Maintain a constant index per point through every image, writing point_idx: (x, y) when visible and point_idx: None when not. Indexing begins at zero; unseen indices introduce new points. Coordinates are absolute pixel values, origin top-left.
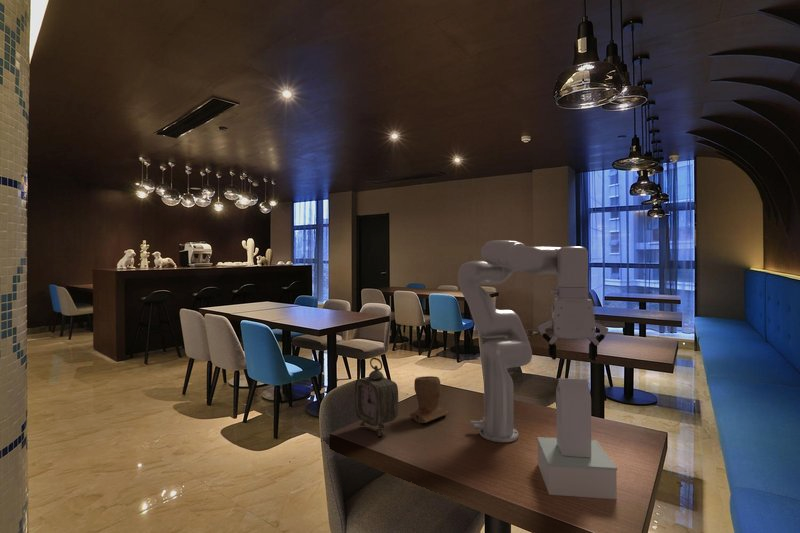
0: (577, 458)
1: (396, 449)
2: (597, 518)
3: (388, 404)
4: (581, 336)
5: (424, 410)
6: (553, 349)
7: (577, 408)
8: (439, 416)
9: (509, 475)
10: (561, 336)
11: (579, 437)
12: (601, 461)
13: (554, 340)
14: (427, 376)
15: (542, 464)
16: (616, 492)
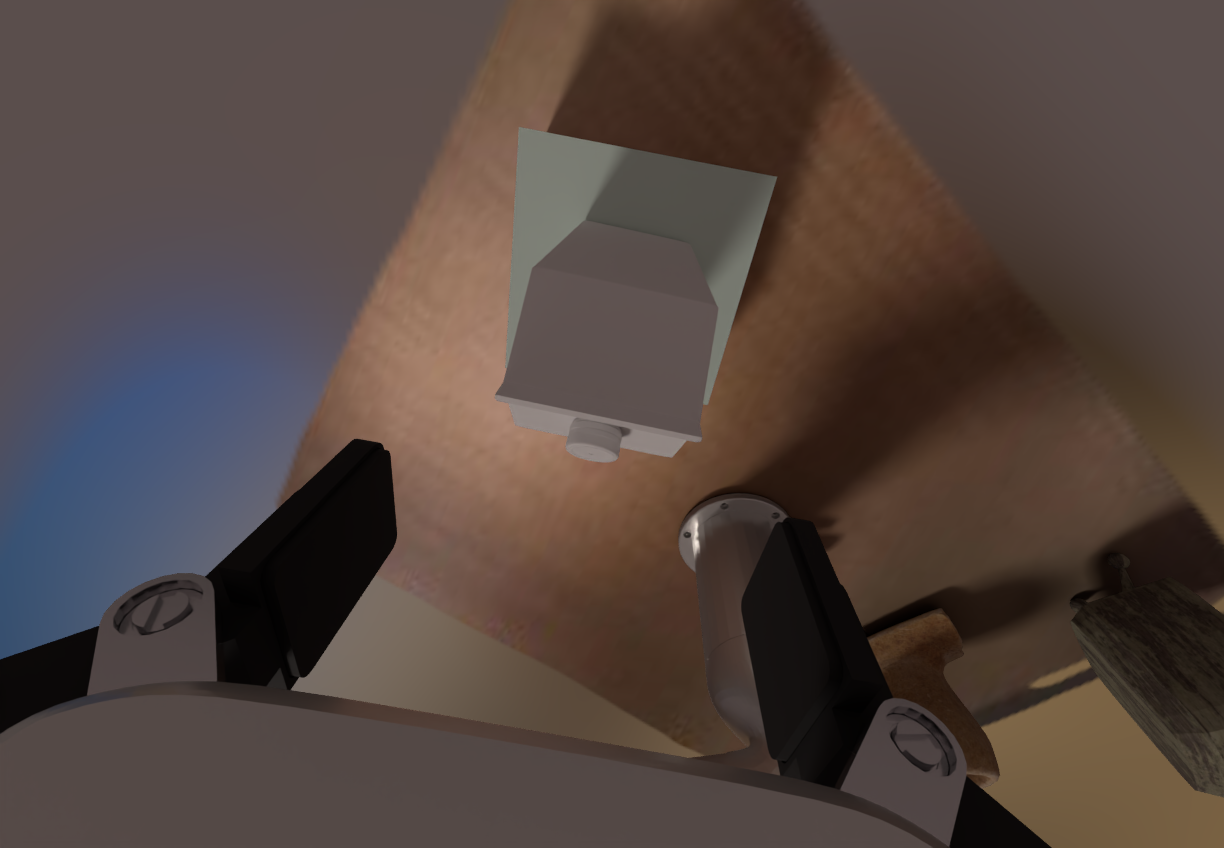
0: (638, 219)
1: (1102, 481)
2: (661, 4)
3: (1181, 643)
4: (364, 744)
5: (932, 656)
6: (851, 616)
7: (623, 269)
8: (878, 634)
9: (821, 303)
10: (866, 820)
11: (622, 240)
12: (556, 190)
13: (887, 764)
14: None
15: None
16: None
